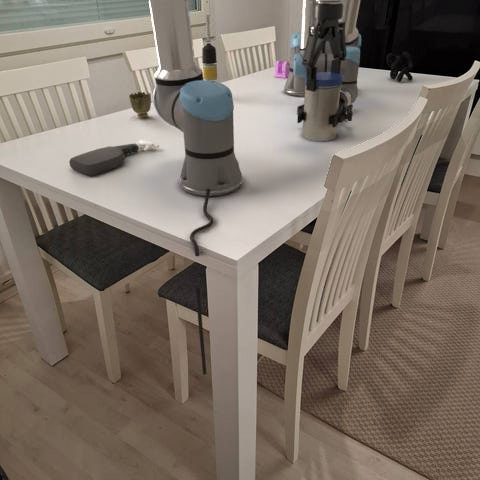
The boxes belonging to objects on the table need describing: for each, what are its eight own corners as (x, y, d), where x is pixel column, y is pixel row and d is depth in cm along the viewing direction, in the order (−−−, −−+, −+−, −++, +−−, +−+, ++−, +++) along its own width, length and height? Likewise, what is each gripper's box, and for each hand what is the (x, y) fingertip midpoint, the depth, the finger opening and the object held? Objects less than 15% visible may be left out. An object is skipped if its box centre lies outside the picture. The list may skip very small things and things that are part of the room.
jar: (295, 135, 140) (298, 79, 131) (317, 128, 145) (321, 74, 136) (320, 143, 133) (325, 85, 124) (342, 136, 139) (348, 79, 130)
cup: (127, 118, 157) (124, 95, 153) (141, 113, 163) (138, 90, 159) (144, 121, 154) (141, 97, 150) (157, 115, 160) (154, 92, 156)
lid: (347, 85, 127) (348, 79, 126) (310, 87, 125) (311, 81, 124) (334, 77, 136) (335, 71, 135) (300, 79, 134) (300, 73, 133)
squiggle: (400, 92, 202) (376, 71, 205) (417, 76, 202) (392, 56, 205) (405, 81, 191) (380, 59, 194) (423, 64, 191) (397, 42, 194)
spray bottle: (67, 168, 120) (139, 144, 136) (91, 178, 114) (163, 151, 130) (65, 157, 118) (137, 134, 134) (89, 167, 112) (162, 142, 128)
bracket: (285, 77, 208) (285, 62, 204) (275, 76, 211) (275, 60, 207) (299, 72, 216) (300, 57, 213) (289, 71, 219) (290, 56, 216)
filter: (220, 99, 177) (217, 15, 161) (206, 100, 176) (202, 16, 160) (215, 96, 182) (212, 14, 166) (202, 97, 180) (197, 14, 164)
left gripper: (314, 6, 110) (308, 96, 122) (365, 0, 124) (355, 82, 136) (290, 5, 115) (287, 92, 127) (342, -1, 129) (335, 78, 140)
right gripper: (369, 117, 147) (352, 137, 130) (303, 109, 156) (280, 128, 139) (372, 94, 143) (355, 112, 126) (305, 87, 152) (280, 103, 135)
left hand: (322, 87), depth 131 cm, fingers closed on lid, 11 cm apart
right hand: (316, 120), depth 133 cm, fingers closed on jar, 10 cm apart
